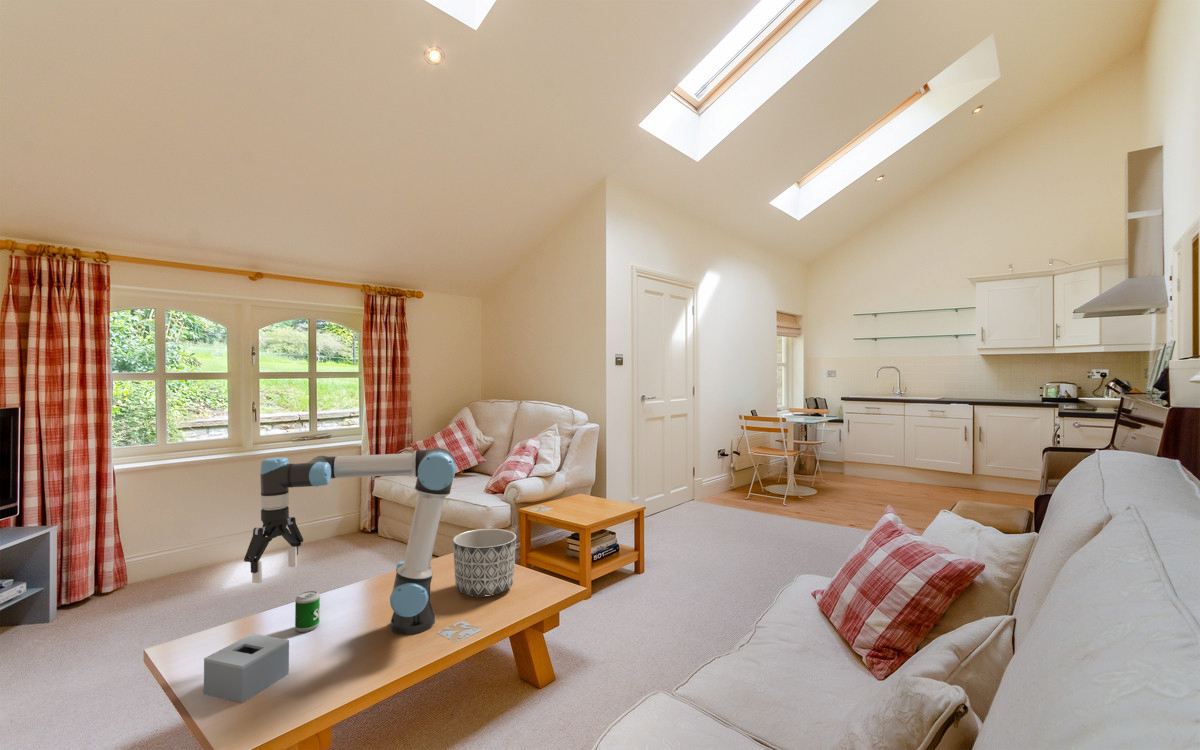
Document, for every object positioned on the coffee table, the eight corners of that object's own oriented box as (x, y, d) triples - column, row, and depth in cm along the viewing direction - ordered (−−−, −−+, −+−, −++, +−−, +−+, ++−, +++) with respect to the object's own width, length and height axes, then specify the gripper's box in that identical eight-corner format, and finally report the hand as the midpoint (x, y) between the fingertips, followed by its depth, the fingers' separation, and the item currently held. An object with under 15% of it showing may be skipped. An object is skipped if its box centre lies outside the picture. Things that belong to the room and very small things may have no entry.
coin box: (288, 673, 159) (289, 640, 159) (242, 703, 144) (242, 666, 144) (252, 666, 163) (252, 633, 163) (203, 694, 148) (204, 658, 148)
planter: (467, 576, 237) (467, 527, 237) (523, 579, 234) (523, 530, 234) (441, 600, 211) (442, 545, 211) (504, 605, 208) (505, 549, 208)
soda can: (308, 634, 183) (309, 599, 183) (289, 631, 184) (290, 597, 184) (324, 624, 190) (324, 590, 190) (306, 622, 192) (306, 589, 192)
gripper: (296, 497, 180) (296, 559, 180) (229, 516, 156) (229, 588, 156) (314, 498, 179) (315, 561, 179) (250, 518, 154) (250, 591, 154)
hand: (275, 574), depth 167 cm, fingers open, 13 cm apart
